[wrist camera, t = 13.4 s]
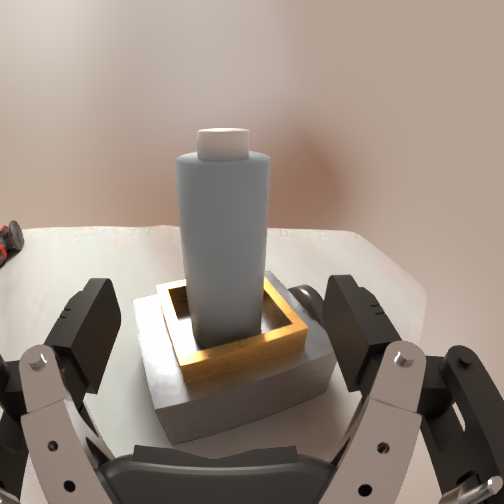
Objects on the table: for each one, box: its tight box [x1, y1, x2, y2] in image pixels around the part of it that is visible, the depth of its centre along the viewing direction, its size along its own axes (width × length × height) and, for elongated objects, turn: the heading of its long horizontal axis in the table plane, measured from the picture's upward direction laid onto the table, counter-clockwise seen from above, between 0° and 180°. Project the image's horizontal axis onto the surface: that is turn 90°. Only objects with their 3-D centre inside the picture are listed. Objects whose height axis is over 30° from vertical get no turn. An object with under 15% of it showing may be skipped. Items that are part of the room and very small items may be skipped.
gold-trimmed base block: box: [133, 271, 337, 445], centre depth 24 cm, size 16×12×8 cm
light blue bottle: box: [176, 128, 271, 349], centre depth 19 cm, size 6×6×15 cm
